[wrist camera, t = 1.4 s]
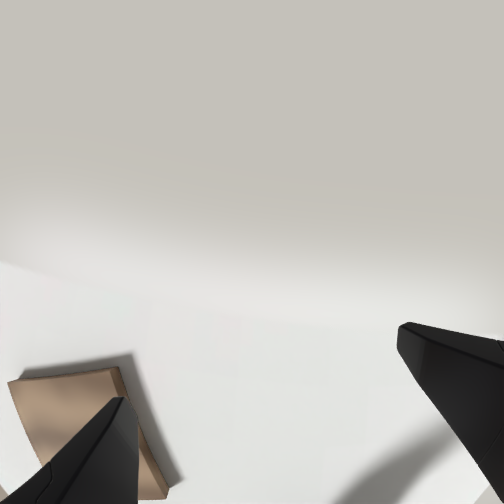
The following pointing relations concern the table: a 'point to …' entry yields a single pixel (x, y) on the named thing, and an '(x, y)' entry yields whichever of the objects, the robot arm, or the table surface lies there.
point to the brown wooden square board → (77, 417)
